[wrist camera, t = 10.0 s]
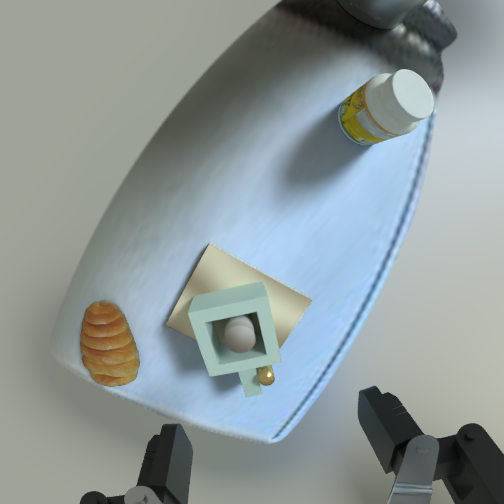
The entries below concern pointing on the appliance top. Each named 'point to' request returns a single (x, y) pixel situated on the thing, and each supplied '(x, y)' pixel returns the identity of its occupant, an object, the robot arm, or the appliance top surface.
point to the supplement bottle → (385, 107)
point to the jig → (231, 275)
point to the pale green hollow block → (216, 352)
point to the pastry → (108, 345)
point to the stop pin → (266, 375)
